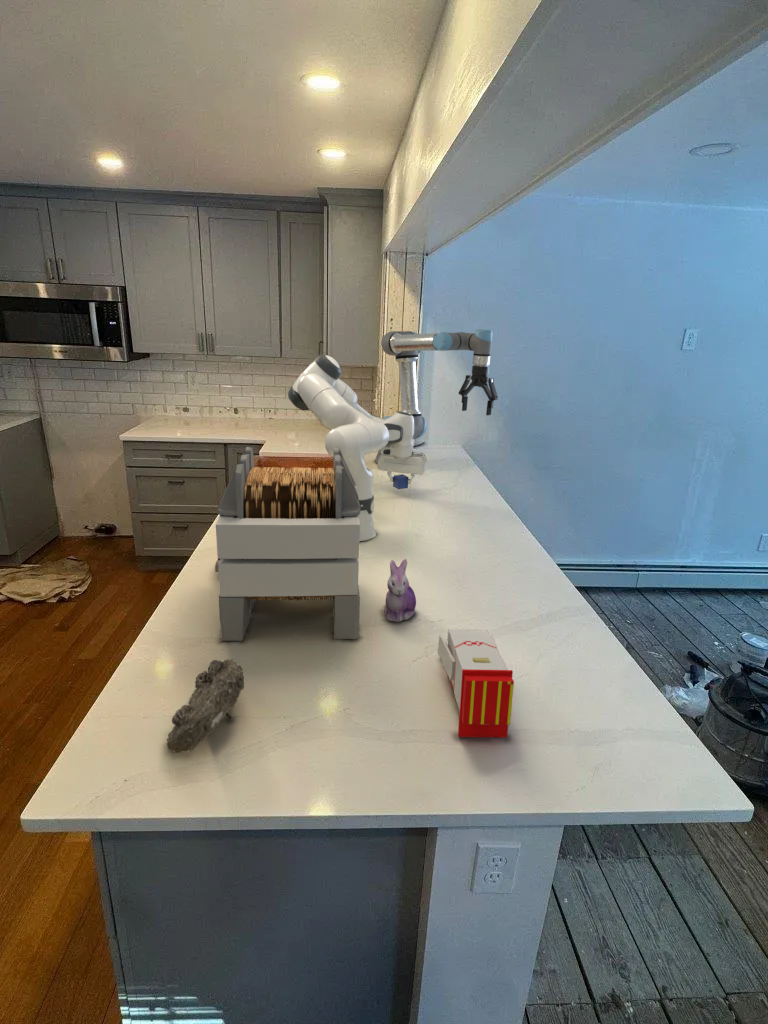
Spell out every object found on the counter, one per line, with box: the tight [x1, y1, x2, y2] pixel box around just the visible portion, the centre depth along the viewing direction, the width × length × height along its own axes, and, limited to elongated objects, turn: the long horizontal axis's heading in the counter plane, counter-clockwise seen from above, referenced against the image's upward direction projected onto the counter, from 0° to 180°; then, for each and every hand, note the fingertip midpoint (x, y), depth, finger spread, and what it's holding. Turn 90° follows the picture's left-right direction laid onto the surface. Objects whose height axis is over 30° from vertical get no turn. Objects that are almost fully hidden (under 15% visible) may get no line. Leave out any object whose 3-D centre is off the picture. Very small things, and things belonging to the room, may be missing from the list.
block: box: [392, 473, 410, 490], centre depth 241 cm, size 5×5×5 cm
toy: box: [437, 628, 515, 738], centre depth 117 cm, size 12×13×30 cm
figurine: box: [384, 558, 417, 623], centre depth 145 cm, size 9×10×15 cm
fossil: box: [166, 658, 245, 754], centre depth 106 cm, size 22×10×15 cm
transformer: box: [215, 446, 361, 642], centre depth 142 cm, size 34×33×41 cm
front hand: (400, 482), depth 241 cm, fingers closed on block, 6 cm apart
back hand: (476, 412), depth 261 cm, fingers open, 13 cm apart
